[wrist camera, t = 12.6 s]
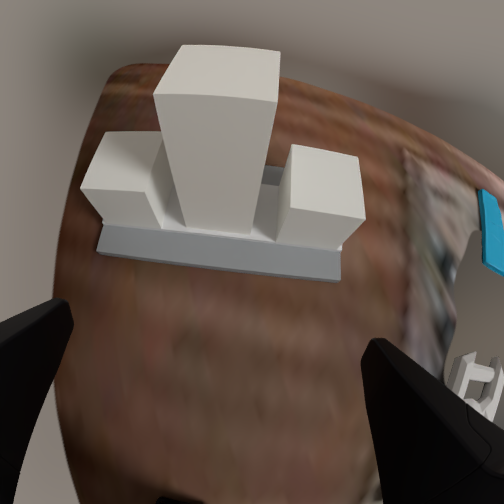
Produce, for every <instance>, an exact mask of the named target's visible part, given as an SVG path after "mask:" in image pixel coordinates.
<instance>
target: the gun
mask: <svg viewBox="0 0 504 504" xmlns="http://www.w3.org/2000/svg"><path fill="white" fill-rule="evenodd" d="M475 356H476V352H471V353H468V354H465V355H462V356H459V357H456V358H455V360H454V363H453V367H452V370H451V373H450V376H449V379H448V382H447V385H446V387H448V388H449V389H450V390H451V391H453V392H454V393H455V394H456V395H458V396H459V397H460V398H461V399H463V398H464V395H465V392H466V389H467V386H468V382H469V380H472V381H479V382H485V383H484V387H483V390H482V394H481V397H480V398H479V399H478V400H477V401H475V400H474V399H472V398H470V399H463V400H464V401H465V402H466V403H468V404H469V405H470V406H471V407H473V408H474V409H475V410H476V411H478V412H479V413H480V414H482V415H483V416H484V417H485V418H487V419H488V420H490V421H491V422H492V421H493V419H494V415H495V412H496V409H497V406H498V403H499V399H500V396H501V392H502V388H503V385H504V375H503V371H502V367H501V363H500V360H499V357H493V358H492V359H491V362H490V365H489V367H486V366H483V365H478V364H475V363H474V361H475Z"/></svg>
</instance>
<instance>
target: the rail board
mask: <svg viewBox="0 0 504 504" xmlns="http://www.w3.org/2000/svg"><path fill="white" fill-rule="evenodd" d="M80 189H81V191H82V192H83V193H84V195H85V196H86V197H87V199H88V200H89V201H90V202H91V204H92V205H93V206H94V208H95V209H96V210H97V211H98V213H99V214H100V215H101V217H102V218H103V221H102V223H103V229H102V232H101V235H100V239H99V243H98V246H97V250H96V251H97V252H98V253H99V254H101V255H108V256H115V257H122V258H129V259H136V260H144V261H151V262H158V263H166V264H174V265H182V266H189V267H197V268H206V269H214V270H222V271H231V272H239V273H248V274H257V275H266V276H275V277H284V278H294V279H304V280H313V281H324V282H334V283H337V282H339V281H340V280H341V268H340V252H341V251H342V244H343V242H344V241H345V240H346V239H347V238H348V237H349V236H350V235H351V234H352V233H353V232H354V231H355V230H356V229H357V228H358V227H359V226H360V225H361V224H362V223H363V222H364V221H365V220H366V218H365V208H364V199H363V190H362V182H361V175H360V168H359V161H358V157H355V156H350V155H346V154H341V153H337V152H332V151H327V150H322V149H317V148H311V147H306V146H300V145H294V144H292V145H291V149H290V152H289V155H288V158H287V162H286V165H285V168H282V167H275V166H268V165H265V166H264V170H263V175H262V180H261V185H260V190H259V195H258V200H257V205H256V210H255V215H254V220H253V225H252V230H251V234H250V235H245V234H236V233H228V232H219V231H211V230H202V229H193V228H187V227H186V224H185V220H184V217H183V213H182V210H181V206H180V202H179V199H178V195H177V192H176V188H175V184H174V180H173V176H172V173H171V169H170V165H169V161H168V157H167V153H166V149H165V145H164V140H163V136H162V132H153V131H123V132H105V134H104V136H103V138H102V140H101V142H100V144H99V146H98V149H97V151H96V153H95V155H94V157H93V159H92V161H91V164H90V166H89V168H88V170H87V173H86V175H85V177H84V180H83V182H82V185H81V187H80Z"/></svg>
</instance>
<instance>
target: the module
mask: <svg viewBox="0 0 504 504" xmlns="http://www.w3.org/2000/svg"><path fill="white" fill-rule="evenodd" d="M279 68H280V52H278V51H271V50H263V49H255V48H245V47H233V46H216V45H215V46H214V45H182V46H181V48H180V49H179V51H178V53H177V54H176V56H175V57H174V59H173V61H172V62H171V64H170V65H169V67H168V69H167V70H166V72H165V74H164V75H163V77H162V79H161V81H160V82H159V84H158V86H157V88H156V90H155V91H154V93H153V96H154V100H155V105H156V110H157V114H158V119H159V123H160V128H161V132H162V136H163V140H164V145H165V149H166V153H167V157H168V161H169V165H170V169H171V173H172V176H173V180H174V184H175V188H176V192H177V195H178V199H179V202H180V206H181V210H182V213H183V217H184V220H185V224H186V227H187V228H193V229H202V230H211V231H219V232H228V233H236V234H245V235H250V234H251V230H252V225H253V220H254V215H255V210H256V205H257V200H258V195H259V190H260V185H261V180H262V175H263V170H264V166H265V161H266V156H267V151H268V146H269V141H270V136H271V132H272V127H273V122H274V117H275V112H276V107H277V103H278V86H279Z"/></svg>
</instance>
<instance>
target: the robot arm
mask: <svg viewBox="0 0 504 504" xmlns="http://www.w3.org/2000/svg"><path fill="white" fill-rule="evenodd" d="M73 327H74V321H73V317H72V314H71V310H70V306H69V303H68V301H67V300H65V299H61V298H53V299H51V300H49V301H47V302H44V303H42V304H40V305H37V306H35V307H33V308H31V309H29V310H26V311H24V312H22V313H20V314H18V315H15V316H13V317H11V318H9V319H7V320H5V321H3V322H1V323H0V504H13V501H14V496H15V492H16V487H17V483H18V479H19V475H20V471H21V467H22V464H23V460H24V457H25V454H26V450H27V447H28V444H29V441H30V438H31V435H32V432H33V429H34V426H35V424H36V421H37V418H38V416H39V413H40V410H41V408H42V406H43V403H44V400H45V398H46V395H47V393H48V391H49V389H50V386H51V384H52V382H53V380H54V377H55V375H56V373H57V370H58V368H59V365H60V363H61V360H62V357H63V354H64V352H65V349H66V346H67V343H68V341H69V338H70V335H71V333H72V330H73ZM361 371H362V379H363V387H364V396H365V404H366V410H367V415H368V420H369V424H370V429H371V434H372V439H373V444H374V449H375V455H376V460H377V466H378V472H379V478H380V484H381V491H382V498H383V504H504V430H503V429H501V428H500V427H498V426H497V425H495V424H494V423H493V422H491V421H490V420H488V419H487V418H485V417H484V416H483V415H482V414H480V413H479V412H478V411H476V410H475V409H474V408H473V407H471V406H470V405H469V404H468V403H466V402H465V401H464V400H463V399H461V398H460V397H459V396H458V395H456V394H455V393H454V392H453V391H451V390H450V389H449V388H448V387H446V386H445V385H444V384H443V383H441V382H440V381H439V380H438V379H436V378H435V377H434V376H433V375H431V374H430V373H429V372H427V371H426V370H425V369H424V368H422V367H421V366H420V365H419V364H417V363H416V362H415V361H413V360H412V359H411V358H410V357H408V356H407V355H406V354H405V353H403V352H402V351H401V350H399V349H398V348H397V347H396V346H394V345H393V344H392V343H390V342H389V341H388V340H387V339H385V338H372V339H371V340H370V342H369V344H368V346H367V348H366V350H365V352H364V354H363V356H362V358H361ZM161 501H164V502H165V503H162V502H161ZM156 504H190V503H186V502H179V501H176V500H172V499H169V498H166V497H159V498H158V499H157V501H156Z"/></svg>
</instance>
